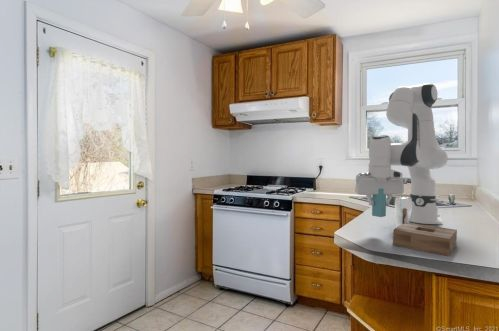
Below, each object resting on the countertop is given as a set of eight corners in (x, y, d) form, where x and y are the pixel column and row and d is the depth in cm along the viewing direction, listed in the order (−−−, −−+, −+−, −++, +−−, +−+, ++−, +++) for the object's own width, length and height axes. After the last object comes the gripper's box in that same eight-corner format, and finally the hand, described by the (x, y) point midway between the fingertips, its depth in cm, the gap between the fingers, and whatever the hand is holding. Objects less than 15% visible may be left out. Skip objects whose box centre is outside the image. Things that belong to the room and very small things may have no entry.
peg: (377, 214, 134) (377, 187, 133) (385, 216, 130) (386, 188, 130) (372, 215, 131) (372, 188, 131) (380, 217, 128) (381, 188, 128)
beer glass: (390, 228, 142) (391, 197, 142) (401, 228, 145) (403, 196, 144) (402, 232, 136) (404, 199, 135) (414, 231, 138) (415, 198, 138)
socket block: (405, 236, 129) (406, 222, 129) (456, 245, 117) (456, 229, 117) (392, 245, 116) (393, 229, 115) (448, 256, 104) (449, 238, 104)
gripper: (359, 173, 126) (358, 206, 127) (406, 173, 128) (405, 206, 128) (353, 172, 133) (352, 204, 133) (397, 172, 134) (397, 203, 135)
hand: (379, 205), depth 131 cm, fingers closed on peg, 5 cm apart
